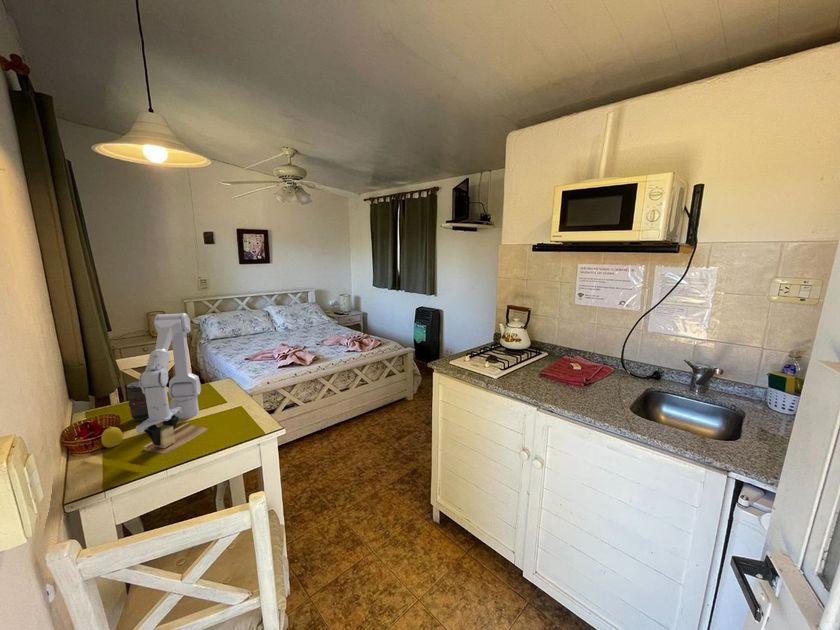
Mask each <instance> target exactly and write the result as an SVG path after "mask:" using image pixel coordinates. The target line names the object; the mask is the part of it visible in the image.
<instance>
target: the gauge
mask: <svg viewBox="0 0 840 630" xmlns="http://www.w3.org/2000/svg"><path fill="white" fill-rule="evenodd" d="M156 426H157V427H161V430H160V440H161V445H159V446H157V445H154V444H153V446H155V447H160V448H166V447H168V446H169V445H171V444H173V443H174V442H175V436H174V429H173V426H169V425H163V423H162V424H159V425H156ZM151 442H152V441H151ZM152 443H153V442H152Z"/></svg>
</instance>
